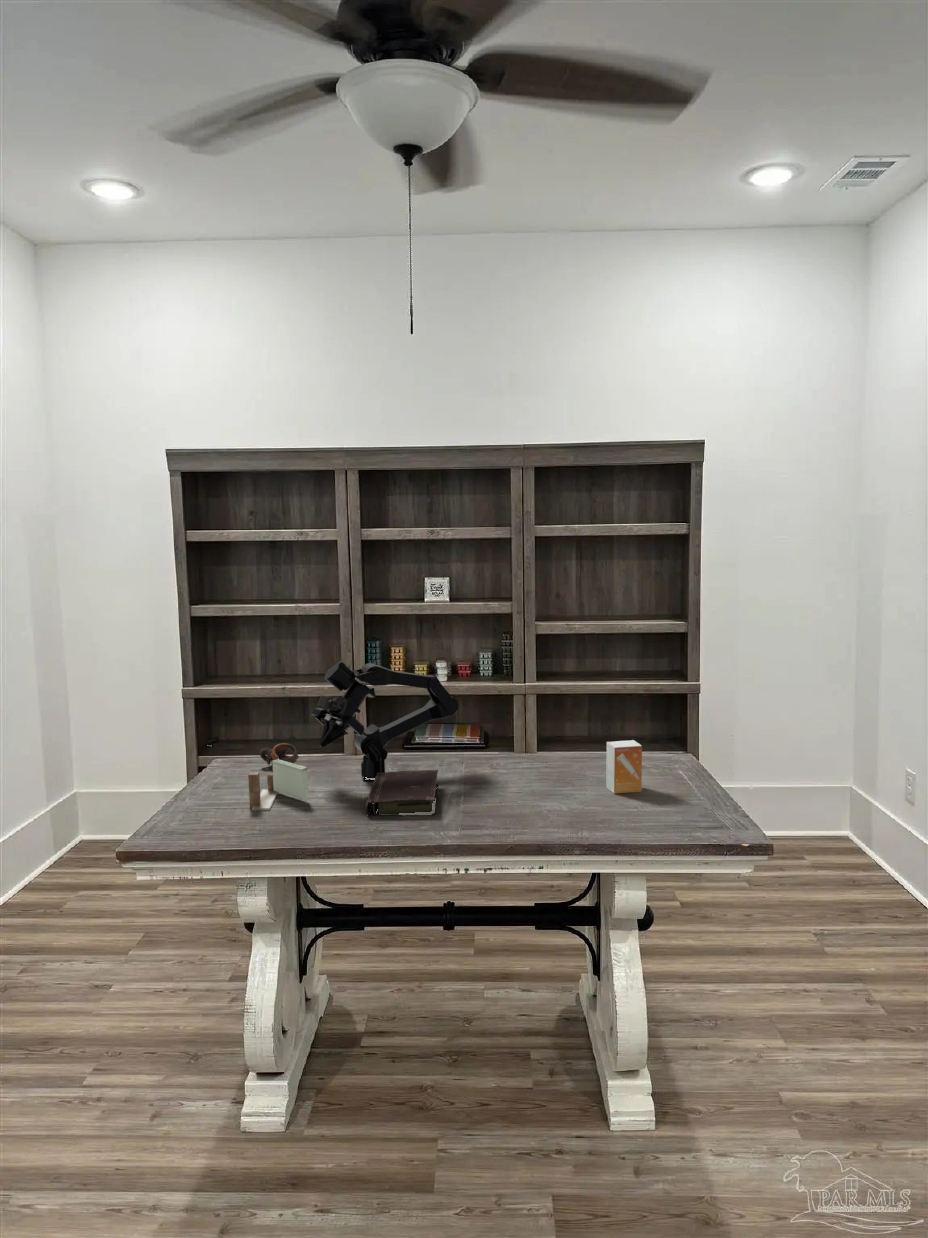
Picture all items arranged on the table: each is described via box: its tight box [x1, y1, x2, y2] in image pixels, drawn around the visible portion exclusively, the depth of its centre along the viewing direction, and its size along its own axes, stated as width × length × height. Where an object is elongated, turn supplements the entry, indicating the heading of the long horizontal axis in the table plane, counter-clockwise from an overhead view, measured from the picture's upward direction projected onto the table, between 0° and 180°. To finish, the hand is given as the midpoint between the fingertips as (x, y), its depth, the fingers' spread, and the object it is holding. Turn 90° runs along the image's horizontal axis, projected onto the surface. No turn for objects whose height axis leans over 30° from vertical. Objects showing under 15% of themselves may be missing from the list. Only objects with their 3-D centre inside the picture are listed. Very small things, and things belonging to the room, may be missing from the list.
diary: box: [364, 769, 440, 816], centre depth 233 cm, size 19×25×5 cm
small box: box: [605, 739, 643, 795], centre depth 238 cm, size 8×6×13 cm
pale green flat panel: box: [271, 759, 309, 801], centre depth 236 cm, size 13×2×8 cm, turn 48°
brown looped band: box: [259, 742, 300, 766], centre depth 266 cm, size 12×10×8 cm
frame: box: [247, 771, 279, 812], centre depth 235 cm, size 6×17×9 cm, turn 3°
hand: (320, 746), depth 242 cm, fingers closed
